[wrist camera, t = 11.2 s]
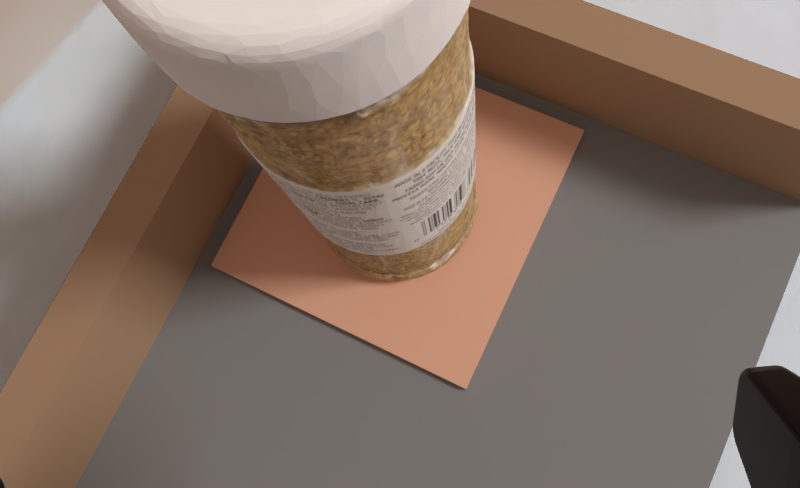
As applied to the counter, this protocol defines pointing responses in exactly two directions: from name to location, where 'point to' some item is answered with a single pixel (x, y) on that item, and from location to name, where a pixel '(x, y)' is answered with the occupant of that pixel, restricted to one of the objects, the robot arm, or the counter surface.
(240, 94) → the sprinkles bottle
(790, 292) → the counter surface
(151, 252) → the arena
